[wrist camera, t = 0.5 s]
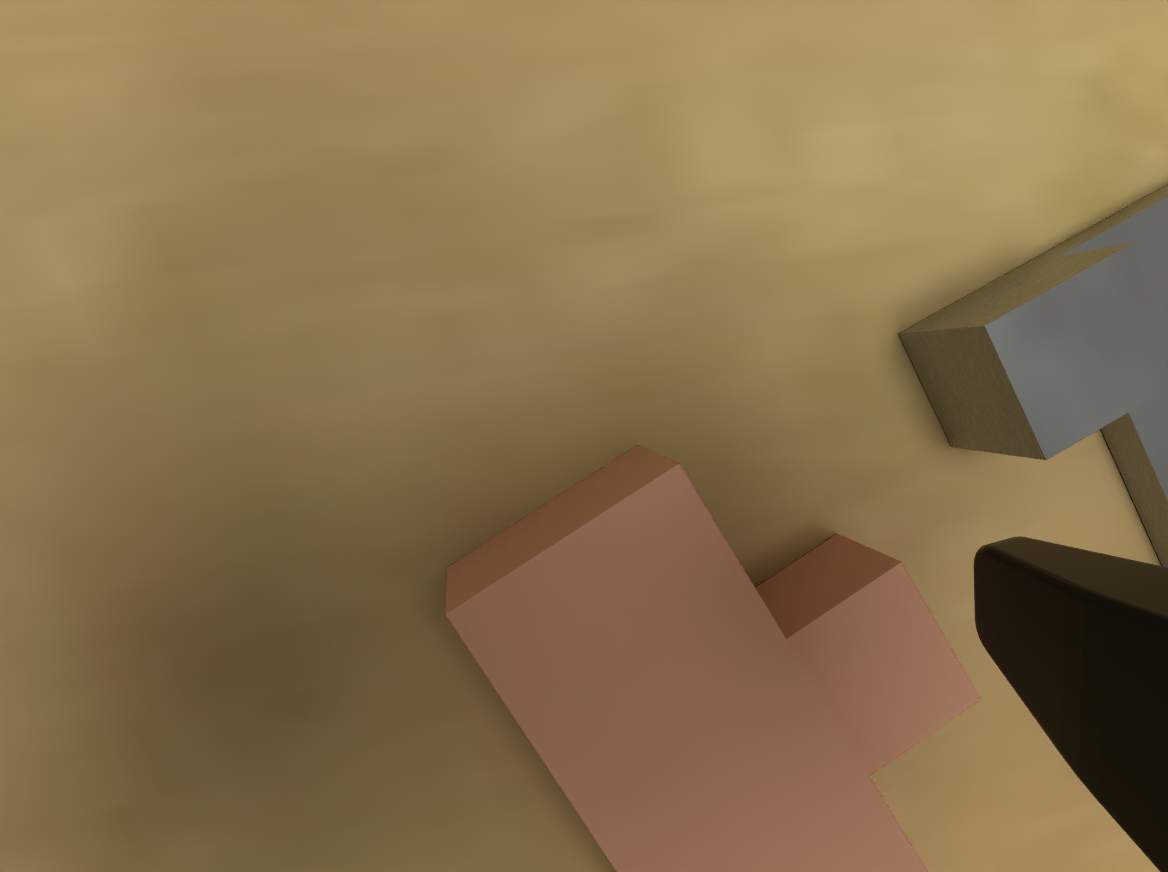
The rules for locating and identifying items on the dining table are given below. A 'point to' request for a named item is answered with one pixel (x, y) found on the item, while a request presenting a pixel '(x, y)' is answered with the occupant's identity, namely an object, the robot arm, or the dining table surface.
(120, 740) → the dining table surface
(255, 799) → the dining table surface
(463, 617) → the pink tabbed slab
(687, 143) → the dining table surface
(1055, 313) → the fixed leaf
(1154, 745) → the robot arm
